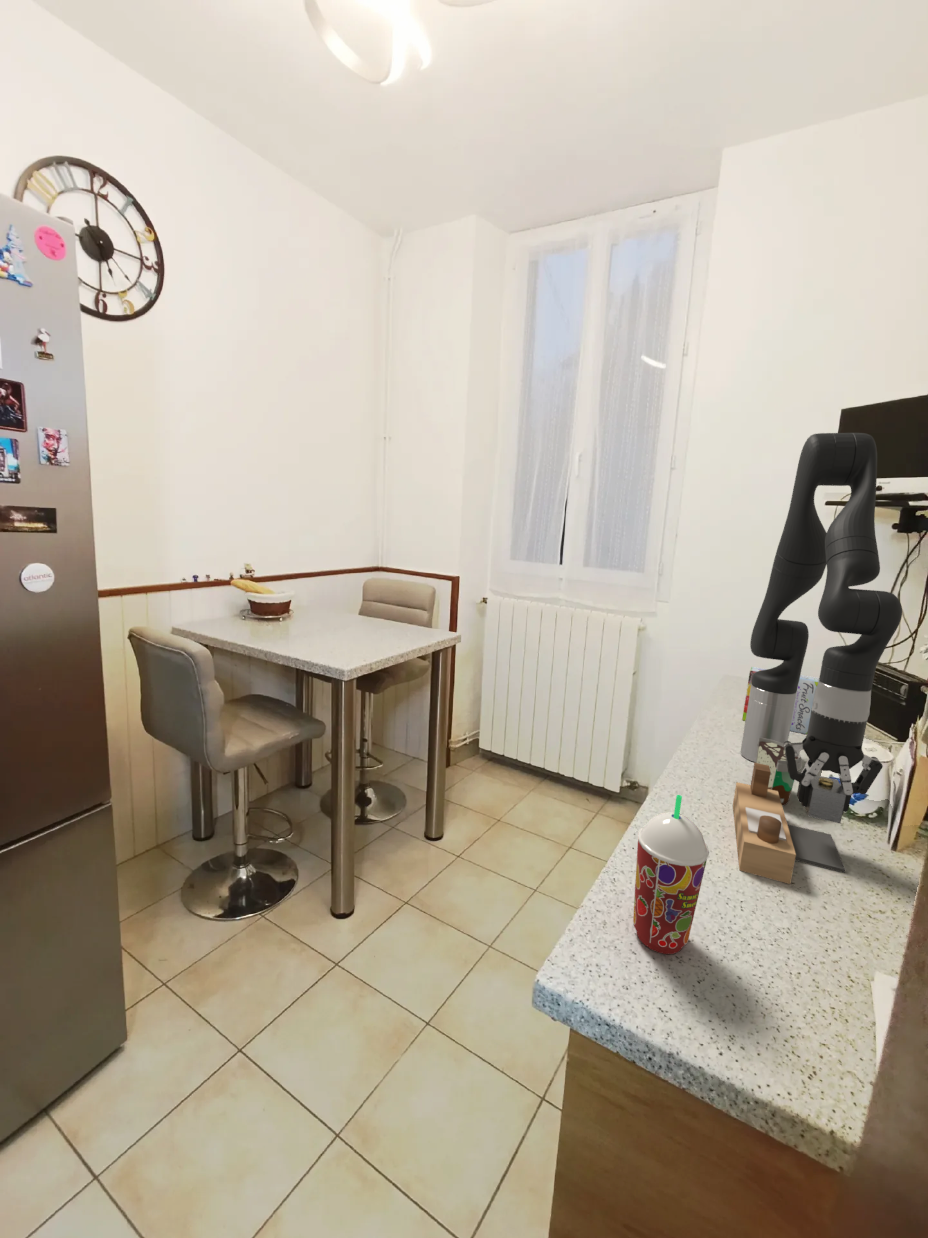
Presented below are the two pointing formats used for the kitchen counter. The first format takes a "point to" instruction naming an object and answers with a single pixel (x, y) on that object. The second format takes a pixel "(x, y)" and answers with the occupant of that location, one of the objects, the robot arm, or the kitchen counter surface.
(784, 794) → the food container
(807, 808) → the grey box
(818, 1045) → the kitchen counter surface
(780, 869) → the plane body
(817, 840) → the mat
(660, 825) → the smoothie
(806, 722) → the snack box
